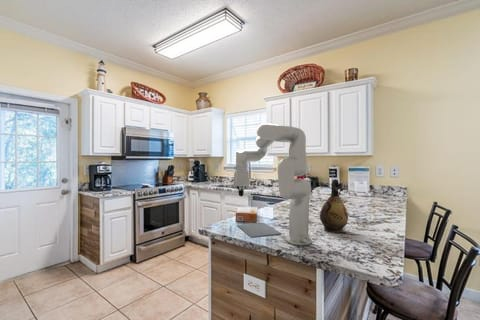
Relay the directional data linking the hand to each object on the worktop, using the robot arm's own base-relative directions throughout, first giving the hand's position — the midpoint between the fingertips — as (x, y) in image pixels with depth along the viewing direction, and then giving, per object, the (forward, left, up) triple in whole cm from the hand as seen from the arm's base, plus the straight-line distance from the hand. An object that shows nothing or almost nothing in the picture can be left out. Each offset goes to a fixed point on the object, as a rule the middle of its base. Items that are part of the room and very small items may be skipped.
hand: (241, 195), depth 159 cm
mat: (-24, -2, -16) cm, 29 cm away
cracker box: (-6, -1, -13) cm, 15 cm away
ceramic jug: (-37, -45, -16) cm, 60 cm away
